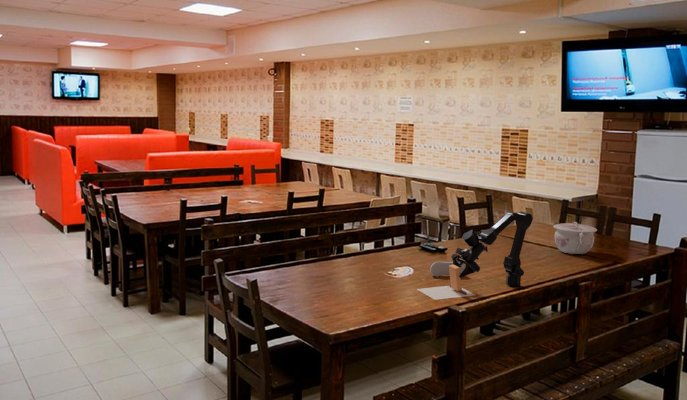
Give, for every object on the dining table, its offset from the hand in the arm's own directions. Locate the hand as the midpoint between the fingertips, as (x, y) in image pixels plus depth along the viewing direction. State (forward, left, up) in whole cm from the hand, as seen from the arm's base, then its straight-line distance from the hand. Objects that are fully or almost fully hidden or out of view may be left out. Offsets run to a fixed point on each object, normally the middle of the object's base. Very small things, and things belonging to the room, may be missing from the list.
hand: (454, 275), depth 305 cm
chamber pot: (-101, -90, -9) cm, 136 cm away
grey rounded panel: (-3, -29, -9) cm, 30 cm away
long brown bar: (-2, -1, -8) cm, 9 cm away
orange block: (-1, 0, -7) cm, 7 cm away
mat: (+4, +2, -9) cm, 10 cm away
